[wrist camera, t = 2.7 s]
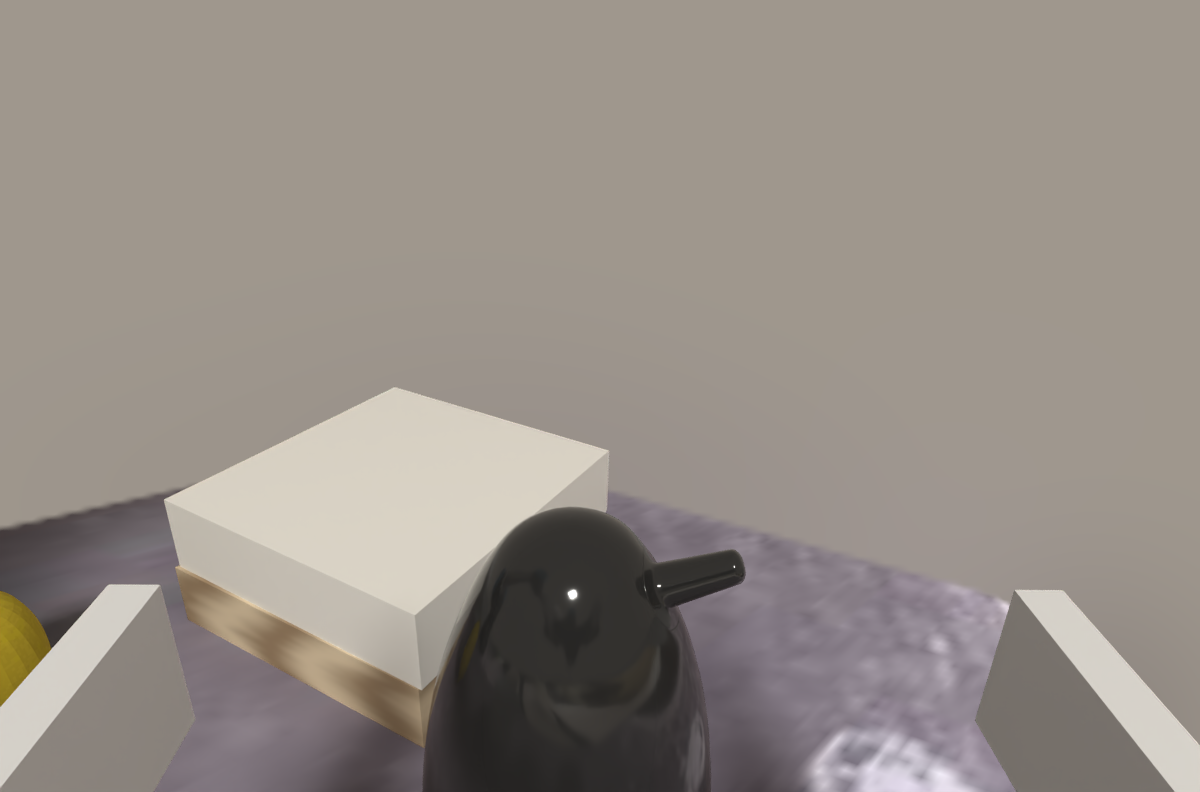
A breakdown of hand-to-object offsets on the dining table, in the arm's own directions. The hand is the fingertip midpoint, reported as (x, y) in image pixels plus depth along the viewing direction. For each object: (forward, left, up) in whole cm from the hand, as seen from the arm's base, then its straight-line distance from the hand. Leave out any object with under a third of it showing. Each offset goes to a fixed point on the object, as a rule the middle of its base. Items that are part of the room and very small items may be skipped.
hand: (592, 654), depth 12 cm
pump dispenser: (-5, +9, -20) cm, 22 cm away
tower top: (-21, +18, -16) cm, 32 cm away
